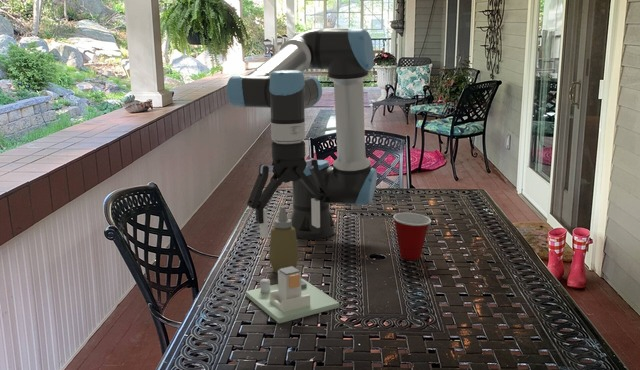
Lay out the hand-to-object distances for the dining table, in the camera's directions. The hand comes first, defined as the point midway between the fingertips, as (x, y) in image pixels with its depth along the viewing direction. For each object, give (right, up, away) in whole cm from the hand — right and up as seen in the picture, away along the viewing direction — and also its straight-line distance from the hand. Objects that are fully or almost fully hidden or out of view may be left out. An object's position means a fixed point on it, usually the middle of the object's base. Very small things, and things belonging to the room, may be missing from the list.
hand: (290, 231), depth 149 cm
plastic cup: (+33, -10, +36) cm, 50 cm away
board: (0, -18, +7) cm, 19 cm away
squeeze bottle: (-3, -13, +27) cm, 30 cm away
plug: (0, -17, +3) cm, 18 cm away
